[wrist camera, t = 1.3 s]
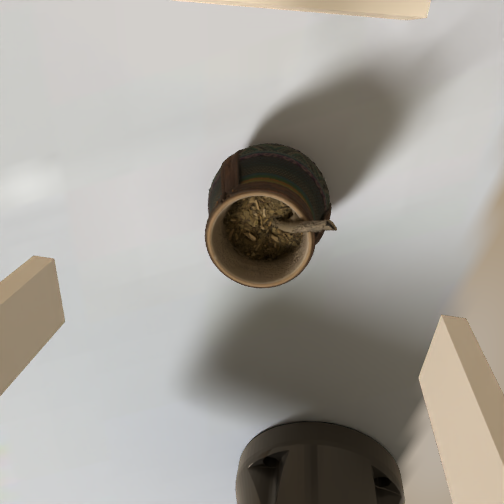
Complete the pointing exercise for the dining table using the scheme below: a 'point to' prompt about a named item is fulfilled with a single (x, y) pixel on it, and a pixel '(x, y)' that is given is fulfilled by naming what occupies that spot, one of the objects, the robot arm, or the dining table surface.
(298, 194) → the mate gourd
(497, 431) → the robot arm
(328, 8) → the cream square slab
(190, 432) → the dining table surface
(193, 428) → the dining table surface
